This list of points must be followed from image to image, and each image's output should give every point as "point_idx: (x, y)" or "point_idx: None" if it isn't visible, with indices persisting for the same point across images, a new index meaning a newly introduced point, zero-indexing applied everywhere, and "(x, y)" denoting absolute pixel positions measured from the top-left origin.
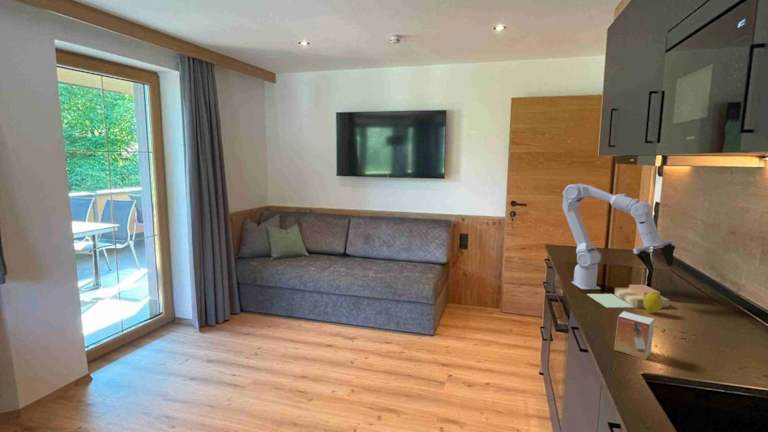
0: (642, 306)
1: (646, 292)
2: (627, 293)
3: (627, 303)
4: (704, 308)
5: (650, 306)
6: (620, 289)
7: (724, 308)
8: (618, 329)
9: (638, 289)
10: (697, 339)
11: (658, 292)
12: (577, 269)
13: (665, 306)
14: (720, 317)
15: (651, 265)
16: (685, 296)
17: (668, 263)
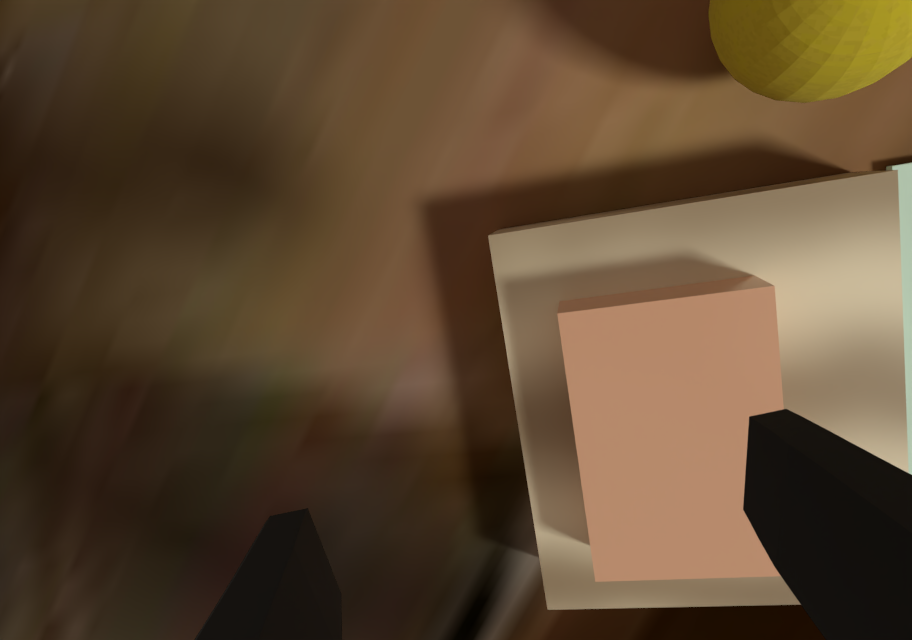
0: (789, 183)
1: (742, 291)
2: (879, 406)
3: (907, 269)
4: (196, 261)
5: None
6: None
7: (51, 283)
8: None
9: (782, 402)
10: None
11: (579, 310)
12: None
13: (531, 225)
14: (170, 50)
15: (865, 474)
16: (212, 534)
17: (326, 612)
